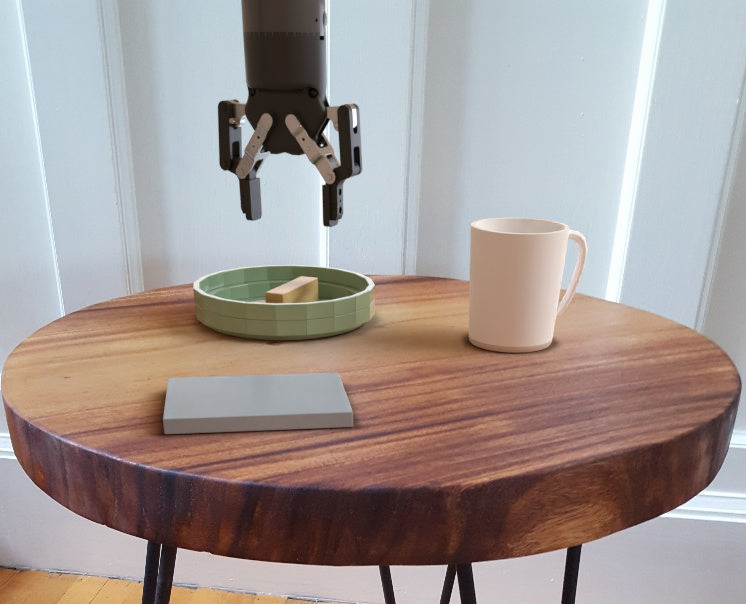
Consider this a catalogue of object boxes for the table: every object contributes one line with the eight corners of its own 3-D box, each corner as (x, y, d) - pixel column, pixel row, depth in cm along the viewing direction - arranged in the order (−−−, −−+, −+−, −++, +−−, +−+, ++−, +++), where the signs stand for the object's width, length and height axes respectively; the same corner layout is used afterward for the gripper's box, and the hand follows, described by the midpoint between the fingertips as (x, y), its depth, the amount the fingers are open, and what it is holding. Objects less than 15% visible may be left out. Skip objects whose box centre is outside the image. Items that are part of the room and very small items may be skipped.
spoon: (277, 329, 93) (276, 303, 92) (237, 324, 94) (235, 299, 93) (328, 302, 102) (328, 278, 101) (291, 298, 104) (291, 274, 102)
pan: (195, 345, 90) (191, 306, 88) (197, 300, 105) (194, 266, 103) (385, 339, 92) (386, 302, 90) (361, 296, 107) (361, 263, 105)
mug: (472, 355, 88) (480, 234, 82) (456, 330, 96) (462, 217, 90) (588, 353, 89) (604, 233, 83) (563, 328, 97) (577, 217, 91)
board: (164, 434, 70) (162, 419, 70) (169, 392, 78) (167, 377, 78) (353, 427, 72) (353, 411, 71) (338, 386, 80) (338, 372, 80)
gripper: (194, 27, 86) (210, 223, 95) (339, 28, 81) (342, 234, 90) (235, 27, 91) (247, 212, 100) (372, 28, 87) (372, 221, 96)
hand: (292, 222), depth 95 cm, fingers open, 8 cm apart
